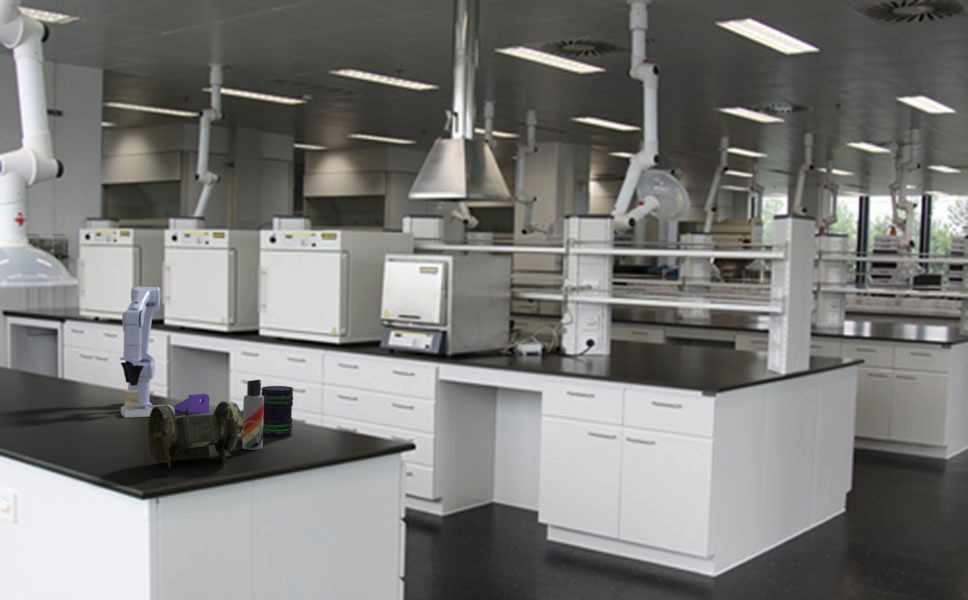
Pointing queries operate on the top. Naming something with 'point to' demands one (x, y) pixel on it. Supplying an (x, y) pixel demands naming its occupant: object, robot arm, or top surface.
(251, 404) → the lotion bottle
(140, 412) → the grey rectangular frame
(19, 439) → the top surface
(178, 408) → the bracket
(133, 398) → the peg
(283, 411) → the storage jar
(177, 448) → the bench grinder
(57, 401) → the top surface
